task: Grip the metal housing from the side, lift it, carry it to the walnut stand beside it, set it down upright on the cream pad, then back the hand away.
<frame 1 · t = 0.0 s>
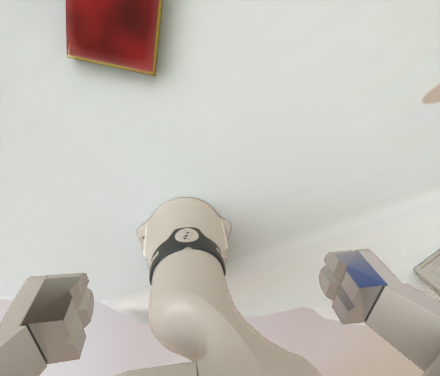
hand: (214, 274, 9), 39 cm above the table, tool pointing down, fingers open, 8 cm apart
supplement box: (432, 265, 71), on the table
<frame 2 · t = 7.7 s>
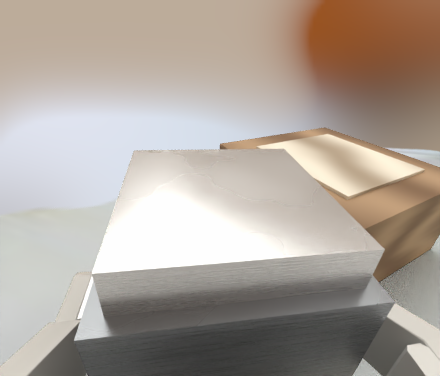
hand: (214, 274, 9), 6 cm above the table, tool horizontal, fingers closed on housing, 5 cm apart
stand: (315, 226, 21), on the table
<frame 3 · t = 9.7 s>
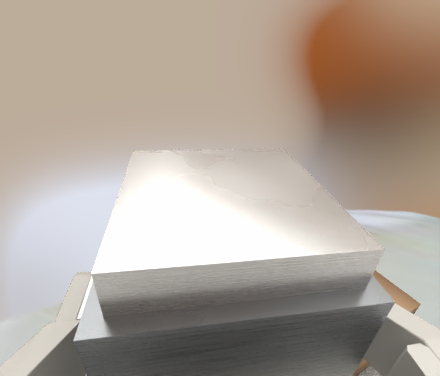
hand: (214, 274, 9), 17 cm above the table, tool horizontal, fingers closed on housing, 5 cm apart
stand: (297, 320, 26), on the table
when the fingers open (13 cm above the table, at t = 11.9 s): housing drops 1 cm, resting on stand.
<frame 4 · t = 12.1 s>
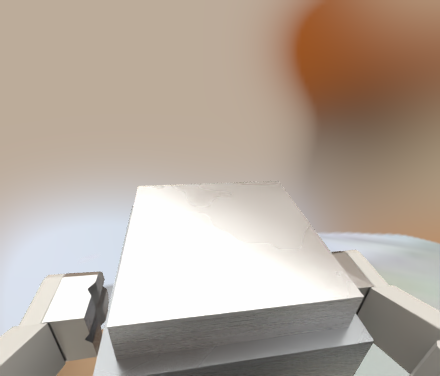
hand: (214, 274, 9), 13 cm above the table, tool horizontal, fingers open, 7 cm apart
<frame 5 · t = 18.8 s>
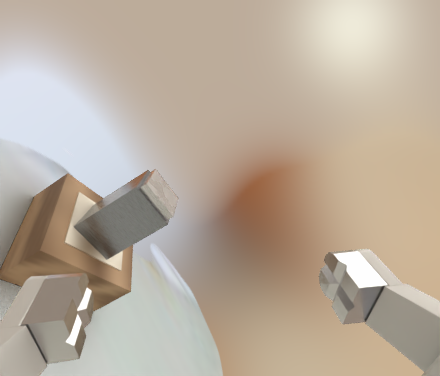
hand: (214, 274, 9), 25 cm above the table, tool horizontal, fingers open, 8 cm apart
stand: (63, 252, 34), on the table
housing: (100, 230, 33), point 6 cm above the table, touching stand
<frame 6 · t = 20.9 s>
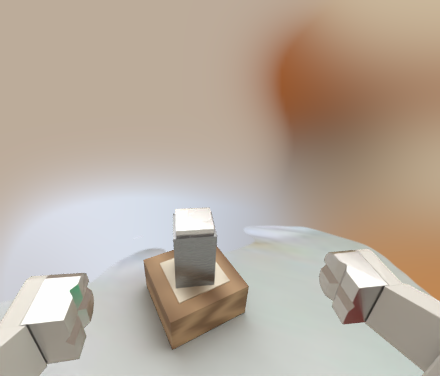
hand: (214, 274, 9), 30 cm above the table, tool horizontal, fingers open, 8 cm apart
stand: (193, 298, 43), on the table
housing: (193, 271, 40), point 6 cm above the table, touching stand
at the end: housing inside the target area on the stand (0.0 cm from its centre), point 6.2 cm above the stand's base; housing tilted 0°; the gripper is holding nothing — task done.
